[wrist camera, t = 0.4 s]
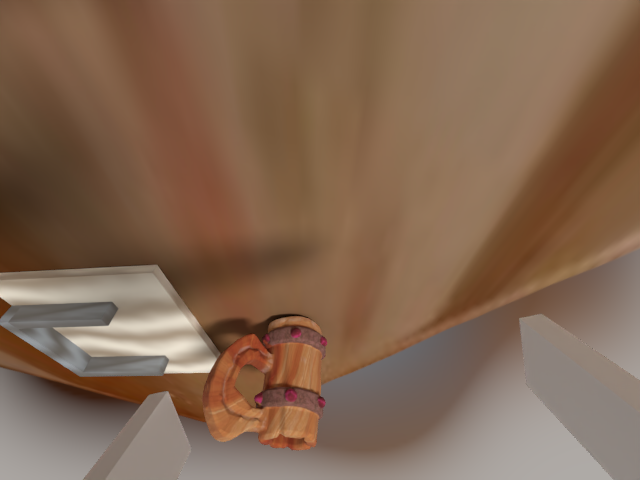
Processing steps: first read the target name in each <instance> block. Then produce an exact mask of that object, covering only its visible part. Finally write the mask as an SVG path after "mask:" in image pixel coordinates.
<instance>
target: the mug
mask: <svg viewBox="0 0 640 480" xmlns="http://www.w3.org/2000/svg"><path fill="white" fill-rule="evenodd" d="M262 341H263V343H264V346H263V345H262V343H261V342H260V340H259V338H258V337H257V336H256V335H255V334H252V333H251V334H248V335H246V336H244V337H242V338H240V339H238V340H237V341H235V342H234V343H233V344H232V345H231V346H230V347H228V348H227V349H226V350H225V351H224V352H222V353H221V354H220V355H219V357H218V358H217V360H216V362H215V363H214V365H213V367H212V369H211V371H210V373H209V375H208V378H207V381H206V384H205V387H204V391H203V399H202V400H203V409H204V414H205V419H206V423H207V425H208V428H209V431H210V433H211V435H212V436H213V437H214V438H215V439H216V440H218V441H220V442H225V441H228V440H232V439H233V438H235V437H237V436H238V435H240V434H241V433H243V432H245V431H251V432H258V433H259V436H258V439H259V441H260V443H261V444H264V445H268V444H270V446H271V447H273V448H285V447H289V448H290V449H291V450H306V449H310V447H315V445H316V442H317V439H316V438H317V429H318V420H320V419H321V418H322V416H323V407H324V406H325V400H324V398H323V397H321V396H320V393H321V360H322V359H323V358H324V357H325V346H326V345H327V340H326V338H325V337H323V336H322V332H321V329H320V327H319V326H318V325H317V324H316V323H315V322H314V321H312V320H310V319H309V318H305V317H302V316H289V317H284V318H280V319H276V320H274V321H272V322H271V323H270V324H269V326H268V333H267V334H266V335H265V336H264V337H263V338H262ZM247 364H251V365H253V366H254V367H256V368H257V369H258V370H260V371H261V372H262V373H264V374H265V379H264V386H263V391H262V392H261V393H259V394H257V395H256V396H255V398H254V399H255V403H256V408H254V407H252V406H251V405H250V404H249V402H248V401H247V400H246V399H245V398H244V397H243V396H242V394H241V393H240V392H239V391H238V390H237V389H236V388H235V386H234V385H235V382H236V379H237V377H238V374H239V372H240V369H241V368H242V367H243V366H244V365H247Z"/></svg>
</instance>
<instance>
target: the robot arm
mask: <svg viewBox="0 0 640 480" xmlns="http://www.w3.org/2000/svg"><path fill="white" fill-rule="evenodd" d="M519 321H520V329H521V339H522V348H523V357H524V366H525V374H526V383H527V386H528V387H529V388H530V389H531V390H532V391H533V392H534V393H535V395H536V396H537V397H538V398H539V399H540V400H541V401H542V402H543V403H544V404H545V406H546V407H547V408H548V409H549V410H550V411H551V412H552V413H553V414H554V415H555V416H556V417H557V419H558V420H559V421H560V422H561V423H562V424H563V425H564V426H565V427H566V428H567V429H568V431H569V432H570V433H571V434H572V435H573V436H574V437H575V438H576V439H577V440H578V441H579V442H580V444H582V446H583V447H584V448H585V449H586V450H587V451H588V452H589V453H590V454H591V455H592V457H593V458H594V459H595V460H596V461H597V462H598V463H599V464H600V465H601V466H602V467H603V469H604V470H606V472H607V473H608V474H609V475H610V476H611V477H612V478H613V479H614V480H640V380H638V379H637V378H635V377H634V376H632V375H631V374H630V373H628V372H627V371H625V370H624V369H622V368H620V367H619V366H618V365H616V364H615V363H613V362H612V361H610V360H609V359H607V358H606V357H605V356H603V355H602V354H600V353H599V352H597V351H596V350H594V349H593V348H591V347H590V346H588V345H586V344H585V343H584V342H582V341H581V340H579V339H578V338H577V337H575V336H574V335H572V334H571V333H569V332H568V331H566V330H565V329H563V328H562V327H560V326H559V325H557V324H556V323H554V322H553V321H552V320H550V319H549V318H547V317H546V316H544V315H543V314H538V315H533V316H529V317H523V318H520V319H519ZM190 451H191V447H190V444H189V442H188V439H187V437H186V434H185V432H184V430H183V427H182V425H181V422H180V420H179V417H178V415H177V412H176V410H175V407H174V405H173V403H172V400H171V398H170V395H169V393H168V391H165V392H161V393H156V394H151V395H149V396H148V397H147V398H146V399H145V401H144V402H143V403H142V405H141V406H140V407H139V408H138V410H137V411H136V412H135V414H134V415H133V416H132V417H131V419H130V420H129V421H128V423H127V424H126V425H125V426H124V428H123V429H122V430H121V432H120V433H119V434H118V436H117V437H116V438H115V439H114V441H113V442H112V443H111V444H110V446H109V447H108V448H107V450H106V451H105V452H104V453H103V455H102V456H101V457H100V459H99V460H98V461H97V462H96V464H95V465H94V466H93V468H92V469H91V470H90V471H89V473H88V474H87V475H86V476H85V478H84V479H83V480H177V479H178V476H179V474H180V472H181V470H182V468H183V466H184V464H185V462H186V460H187V458H188V455H189V454H190Z"/></svg>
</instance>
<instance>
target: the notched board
mask: <svg viewBox="0 0 640 480" xmlns="http://www.w3.org/2000/svg"><path fill="white" fill-rule="evenodd" d="M0 297H1V298H2V299H4V300H5V301H6V302H8V303H9V304H11V305H12V306H11V307H10V309H9V310H8V311H7V312H6V313H5V314H4V315H3V317H2V318H1V319H0V325H1V326H3V327H4V328H6V329H8V330H9V331H11V332H12V333H14V334H15V335H17V336H18V337H20V338H21V339H23V340H25V341H26V342H28V343H29V344H31V345H32V346H34V347H35V348H37V349H38V350H40V351H42V352H43V353H45V354H46V355H48V356H49V357H51V358H52V359H54V360H55V361H57V362H59V363H60V364H62V365H63V366H65V367H66V368H68V369H69V370H71V371H73V372H74V373H76V374H77V375H79V376H80V377H82V376H162V375H163V374H164V373H210V371H211V369H212V367H213V365H214V363H215V362H216V360H217V358H218V357H219V355H220V354H221V353H220V352H219V351H218V349H217V348H216V346H215V345H214V344H213V342H212V341H211V339H210V338H209V337H208V335H207V334H206V332H205V331H204V330H203V328H202V327H201V325H200V324H199V323H198V321H197V320H196V318H195V317H194V316H193V314H192V313H191V311H190V310H189V309H188V307H187V306H186V305H185V303H184V302H183V300H182V299H181V298H180V296H179V295H178V293H177V292H176V291H175V289H174V288H173V286H172V285H171V284H170V282H169V281H168V279H167V278H166V277H165V275H164V274H163V272H162V271H161V270H160V268H159V267H158V265H142V266H123V267H104V268H85V269H66V270H47V271H28V272H8V273H0Z"/></svg>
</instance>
